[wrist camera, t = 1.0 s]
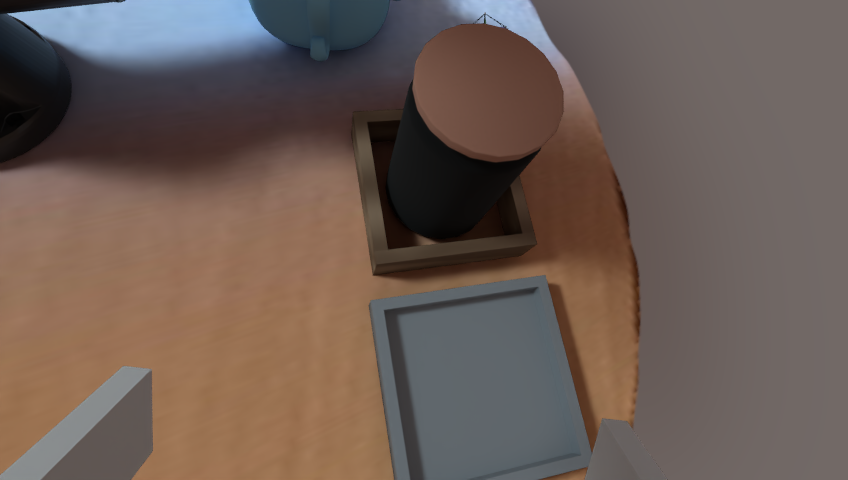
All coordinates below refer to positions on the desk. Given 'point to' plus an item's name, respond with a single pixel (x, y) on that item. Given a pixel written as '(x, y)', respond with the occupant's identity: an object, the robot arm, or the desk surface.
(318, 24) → the decorative pot
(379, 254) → the walnut collar
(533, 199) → the desk surface
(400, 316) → the grey tray
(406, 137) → the coffee jar
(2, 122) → the robot arm
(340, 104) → the desk surface
